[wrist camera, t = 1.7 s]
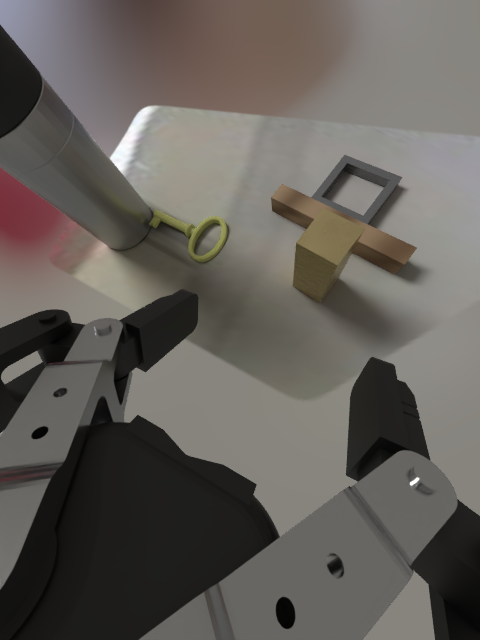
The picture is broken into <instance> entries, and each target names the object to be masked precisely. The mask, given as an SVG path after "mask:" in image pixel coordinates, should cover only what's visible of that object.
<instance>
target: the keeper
mask: <svg viewBox="0 0 480 640" xmlns="http://www.w3.org/2000/svg"><path fill="white" fill-rule="evenodd" d="M344 171H347V172H349V173H352V174H354V175H357V176H359V177H361V178H364V179H366V180H369V181H371V182H374V183H376V184H378V185H381V186H383V187H385V188H384V189H383V190H382V192H381V193H380V194H379V196H378V197H377V198H376V200H375V201H374V202H373V204H372V205H371V206H370V208H369V209H368V210H367V212H366V213H365V214H364V216H362V215H360V214H358V213H356V212H354V211H352V210H349V209H347V208H345V207H343V206H341V205H339V204H336V203H334V202H332V201H330V200H328V199H326V198H324V197H325V196H326V195H327V193H328V192H329V191H330V189H331V188H332V187H333V185H334V184H335V183H336V182H337V180H338V179H339V178H340V176H341V175H342V174H343V173H344ZM401 179H402V177H400V176H398V175H395V174H392V173H390V172H387V171H385V170H382V169H380V168H377V167H374V166H372V165H369V164H367V163H364V162H362V161H359V160H356V159H354V158H351V157H349V156H346V155H344V156H343V158H342V159H341V160H340V162H339V163H338V164H337V165H336V167H335V168H334V169H333V171H332V172H331V173H330V174H329V176H328V177H327V178H326V180H325V181H324V182H323V183H322V185H321V186H320V187H319V189H318V190H317V191H316V192H315V194H314V195H313V196H312V198H313V199H315V200H317V201H319V202H321V203H323V204H325V205H327V206H330V207H332V208H334V209H336V210H338V211H340V212H342V213H344V214H346V215H349V216H351V217H353V218H355V219H357V220H359V221H361V222H363V223H366V224H369V223H370V221H371V220H372V219H373V217H374V216H375V215H376V213H377V212H378V211H379V209H380V208H381V207H382V205H383V204H384V203H385V201H386V200H387V199H388V197H389V196H390V195H391V193H392V192H393V191H394V189H395V188H396V187H397V185H398V184H399V182H400V180H401Z"/></svg>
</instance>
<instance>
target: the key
mask: <svg viewBox="0 0 480 640" xmlns="http://www.w3.org/2000/svg"><path fill="white" fill-rule="evenodd" d="M153 215H154V217H153V219H152V220H151V222H150V223H149V225H150V226H152V225H153V227H154V228H157V226H158V225H159V223H160V222H161V221H162V222H164V223H166V224H168V225H170V226H172V227H174V228H176V229H178V230H180V231H182V232H184V233H185V235H186V236H187V237H190V236H191V238H190V240H189V243H188V251H189V254H190V256H191V258H192V259H194V260H195V261H197V262H205V261H208V260H210V259H211V258H213V257H214V256H215V255H216V254H217V253H218V252H219V251H220V250H221V248H222V247H223V245H224V243H225V241H226V239H227V234H228V228H227V225H226V223H225V222H224V220H223V219H222V218H220V217H217V216H211V217H208V218H206V219H205V220H203V221H202V222H201V223H200V224H199V225H198V226H197V227H196V229H195V227H194V225H193V224H189V225H187V224H185V223H183V222H181V221H179V220H177V219H175V218H173V217H171V216H169V215H166V214H164V213H162V212H160V211H158V210H155V211H154V214H153ZM213 223H218V224H220V225H221V236H220V238H219V241H218V242H217V244H216V246H215V247H214V248H213V249H212V250H211V251H210V252H208V253H207V254H205V255H202V256H197V255H195V253H194V247H195V243H196V241H197V239H198V238H199V236H200V234H201V233H202V232H203V231H204V229H206V228H207V227H208V226H209V225H211V224H213Z"/></svg>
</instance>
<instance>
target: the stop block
mask: <svg viewBox="0 0 480 640" xmlns="http://www.w3.org/2000/svg"><path fill="white" fill-rule="evenodd" d="M364 230H365V228H364V227H362V226H359V225H357V224H355V223H353V222H351V221H349V220H347V219H345V218H343V217H341V216H339V215H336V214H334V213H332V212H330V211H328V210H326V209H324V208H323V209H322V210H321V211H320V213H319V214H318V215H317V216H316V218H315V219H314V220H313V222H312V223H311V224H310V226H309V227H308V228H307V229H306V231H305V232H304V233H303V235H302V236H301V237H300V239H299V240H298V241H297V242H296V252H295V264H294V277H293V287H295V288H297V289H298V290H300V291H301V292H303V293H305V294H306V295H308V296H309V297H311V298H313V299H314V300H316V301H317V302H319V303H320V302H321V301H322V299H323V298H324V297H325V295H326V294H327V293H328V291H329V290H330V289H331V287H332V286H333V285H334V283H335V282H336V281H337V279H338V278H339V276H340V274H341V272H342V270H343V269H344V267H345V265H346V263H347V261H348V259H349V258H350V256H351V254H352V252H353V250H354V248H355V246H356V245H357V243H358V241H359V239H360V237H361V235H362V233H363V232H364Z"/></svg>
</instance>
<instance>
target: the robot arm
mask: <svg viewBox="0 0 480 640" xmlns="http://www.w3.org/2000/svg"><path fill="white" fill-rule="evenodd" d="M0 167H1V168H2V169H3V170H5V171H6V172H7V173H9V174H10V175H12V176H13V177H14V178H16V179H17V180H19V181H20V182H21V183H23V184H24V185H25V186H27V187H28V188H29V189H31V190H32V191H34V192H35V193H36V194H38V195H39V196H40V197H42V198H43V199H44V200H46V201H47V202H49V203H50V204H51V205H53V206H54V207H55V208H57V209H58V210H60V211H61V212H62V213H63V214H65V215H66V216H68V217H69V218H70V219H72V220H73V221H74V222H76V223H77V224H79V225H80V226H81V227H83V228H84V229H85V230H87V231H88V232H89V233H91V234H92V235H93V236H95V237H96V238H98V239H99V240H100V241H102V242H103V243H104V244H106V245H107V246H108V247H110V248H112V249H116V250H124V249H128V248H131V247H133V246H135V245H136V244H138V243H139V242H140V241H141V240H142V239H143V238H144V237H145V236H146V235H147V233H148V231H149V229H150V227H151V226H150V225H149V223H150V222H151V220H152V214H151V210H150V208H149V207H148V206H147V204H146V203H145V202H144V201H143V199H142V198H141V197H140V196H139V194H138V193H137V192H136V191H135V190H134V188H133V187H132V186H131V184H130V183H129V182H128V181H127V179H126V178H125V177H124V176H123V174H122V173H121V172H120V171H119V170H118V168H117V167H116V166H115V165H114V163H113V162H112V161H111V160H110V158H109V157H108V156H107V155H106V153H105V152H104V151H103V150H102V149H101V147H100V146H99V145H98V144H97V142H96V141H95V140H94V139H93V137H92V136H91V135H90V134H89V132H88V131H87V130H86V129H85V128H84V126H83V125H82V124H81V123H80V121H79V120H78V119H77V118H76V116H75V115H74V114H73V113H72V112H71V110H70V109H69V108H68V107H67V105H65V103H64V102H63V101H62V99H61V98H60V97H59V96H58V94H57V93H56V92H55V91H54V89H53V88H52V87H51V86H50V85H49V83H48V82H47V81H46V80H45V78H44V77H43V76H42V75H41V74H40V72H39V71H38V70H37V68H36V67H35V66H34V65H33V64H32V63H31V61H30V60H29V59H28V58H27V56H26V55H25V54H24V53H23V51H22V50H21V49H20V48H19V47H18V45H17V44H16V43H15V42H14V41H13V40H12V38H11V37H10V36H9V35H8V34H7V32H6V31H5V30H4V29H3V27H2V26H1V25H0ZM197 321H198V295H197V294H195V293H192V292H189V291H186V290H184V289H182V290H180V291H178V292H176V293H174V294H173V295H169V296H166V297H162V298H159V299H157V300H155V301H154V302H152V304H148V305H146V306H145V308H144V307H143V308H141V309H139V310H137V311H136V312H134V313H132V314H130V315H128V316H127V317H125V318H123V319H121V320H117V319H111V318H104V319H98V320H94V321H92V322H90V323H88V324H87V325H83V324H77V323H72V322H71V319H70V316H69V314H68V312H66V311H63V310H46V311H42V312H38V313H35V314H33V315H31V316H28V317H26V318H23V319H21V320H19V321H16V322H14V323H12V324H9V325H7V326H5V327H2V328H0V433H1V432H2V431H3V430H4V432H3V434H2V435H1V437H0V640H363V639H364V637H365V636H366V635H367V634H368V632H369V631H370V630H371V629H372V627H373V626H374V625H375V623H376V622H377V621H378V620H379V618H380V617H381V616H382V615H383V613H384V612H385V611H386V610H387V608H388V607H389V606H390V605H391V603H392V602H393V601H394V600H395V598H396V597H397V596H398V594H399V593H400V592H401V591H402V590H403V588H404V587H405V586H406V584H407V583H408V582H409V580H410V579H411V577H412V575H413V570H414V571H415V572H416V573H418V574H419V576H421V577H422V578H423V579H424V580H425V581H426V582H427V583H428V584H429V592H430V600H431V609H432V617H433V625H434V634H435V640H480V516H479V515H478V514H476V513H475V512H473V511H472V510H471V509H469V508H468V507H467V506H465V505H464V504H463V503H462V502H460V501H459V500H458V499H457V496H456V493H455V490H454V488H453V486H452V485H451V483H450V481H449V480H448V478H447V477H446V476H445V475H444V473H443V472H442V471H441V470H440V469H439V468H438V467H437V466H436V465H435V464H433V463H432V462H431V461H430V457H429V453H428V449H427V445H426V441H425V437H424V433H423V429H422V425H421V421H420V420H419V418H420V417H419V413H418V410H417V405H416V401H415V397H414V395H413V393H412V392H411V390H410V389H409V387H408V386H407V385H406V383H405V382H402V381H399V380H397V376H396V370H395V366H394V365H393V364H391V363H388V362H385V361H383V360H380V359H377V358H374V357H371V358H370V359H369V361H368V362H367V364H366V366H365V367H364V369H363V371H362V372H361V374H360V376H359V377H358V379H357V380H356V382H355V384H354V386H353V389H352V392H351V397H350V412H349V431H348V449H347V450H348V451H347V468H346V475H347V476H348V477H350V478H352V479H354V480H356V481H358V482H357V483H356V484H355V485H353V486H352V487H350V486H349V487H347V488H346V489H344V490H343V491H341V492H340V493H338V494H337V495H336V496H334V497H333V498H332V499H330V500H329V501H328V502H327V503H325V504H324V505H322V506H321V507H320V508H318V509H317V510H316V511H314V512H313V513H312V514H311V515H309V516H308V517H307V518H305V519H304V520H302V521H301V522H300V523H298V524H297V525H296V526H295V527H293V528H292V529H290V530H289V531H288V532H286V533H285V534H284V535H282V536H281V537H280V536H279V534H278V532H277V529H276V527H275V525H274V523H273V521H272V520H271V518H270V516H269V514H268V513H267V511H266V510H265V509H264V507H263V506H262V505H261V503H260V502H259V501H258V500H257V499H256V498H255V496H254V495H253V494H254V490H255V488H256V484H255V483H253V482H251V481H250V480H248V479H247V478H245V477H243V476H241V475H240V474H238V473H236V472H234V471H233V470H231V469H229V468H228V467H226V466H224V465H222V464H218V463H214V462H210V461H206V460H202V459H198V458H194V457H190V456H188V455H186V454H185V453H184V452H183V451H182V450H181V449H180V448H179V447H178V446H177V445H176V443H175V442H174V441H173V440H172V439H171V438H170V437H169V436H168V435H167V433H166V432H165V431H164V430H163V429H161V428H159V427H158V426H156V425H154V424H153V423H151V422H149V421H147V420H146V419H144V418H142V417H141V416H139V415H137V416H136V417H135V418H134V419H133V420H132V421H131V422H130V423H126V422H124V411H125V406H126V402H127V397H128V393H129V388H130V383H131V379H132V370H133V369H134V368H136V367H137V368H139V369H141V370H143V371H144V372H146V371H148V370H149V369H150V368H151V367H152V366H153V365H154V364H156V363H157V362H158V361H159V360H160V359H161V358H163V357H164V356H165V355H166V354H167V353H168V352H170V351H171V350H172V349H173V348H174V347H175V346H176V345H178V344H179V343H180V342H181V341H182V340H184V339H185V338H186V337H187V336H188V335H189V334H191V333H192V332H193V331H194V329H195V328H196V325H197ZM35 351H38V353H39V355H40V357H41V359H42V361H43V362H42V363H41V364H39V365H37V366H35V367H34V368H32V369H30V370H29V371H27V372H25V373H24V374H22V375H20V376H19V377H17V378H15V379H14V380H12V381H11V382H9V383H7V384H5V385H4V383H3V382H2V380H1V374H2V372H3V371H4V369H5V368H7V367H8V366H9V365H11V364H13V363H15V362H17V361H19V360H20V359H22V358H24V357H26V356H28V355H30V354H31V353H33V352H35Z"/></svg>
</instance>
